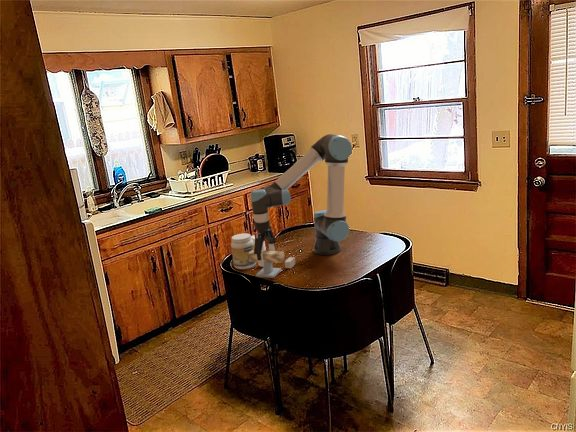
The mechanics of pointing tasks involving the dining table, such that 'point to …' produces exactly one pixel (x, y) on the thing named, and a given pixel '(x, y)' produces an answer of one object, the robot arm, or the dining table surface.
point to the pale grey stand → (268, 271)
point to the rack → (289, 262)
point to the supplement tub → (242, 250)
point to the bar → (268, 256)
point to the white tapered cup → (263, 243)
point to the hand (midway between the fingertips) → (267, 260)
